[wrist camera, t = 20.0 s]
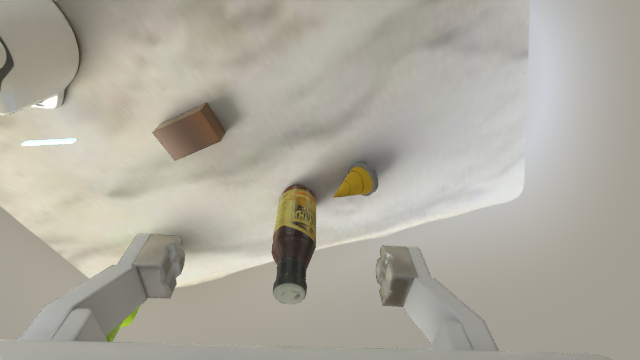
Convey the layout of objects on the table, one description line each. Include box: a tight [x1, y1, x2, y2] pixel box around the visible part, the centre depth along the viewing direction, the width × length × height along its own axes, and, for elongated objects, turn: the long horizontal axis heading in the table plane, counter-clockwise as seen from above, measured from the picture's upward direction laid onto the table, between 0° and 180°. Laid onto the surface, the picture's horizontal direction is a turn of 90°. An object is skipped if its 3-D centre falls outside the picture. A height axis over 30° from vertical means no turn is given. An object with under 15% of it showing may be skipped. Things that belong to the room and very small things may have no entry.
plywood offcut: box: [152, 103, 225, 161], centre depth 45 cm, size 8×5×3 cm, turn 114°
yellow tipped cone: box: [334, 162, 378, 197], centre depth 48 cm, size 5×5×10 cm
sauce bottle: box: [272, 185, 316, 304], centre depth 46 cm, size 6×6×20 cm
